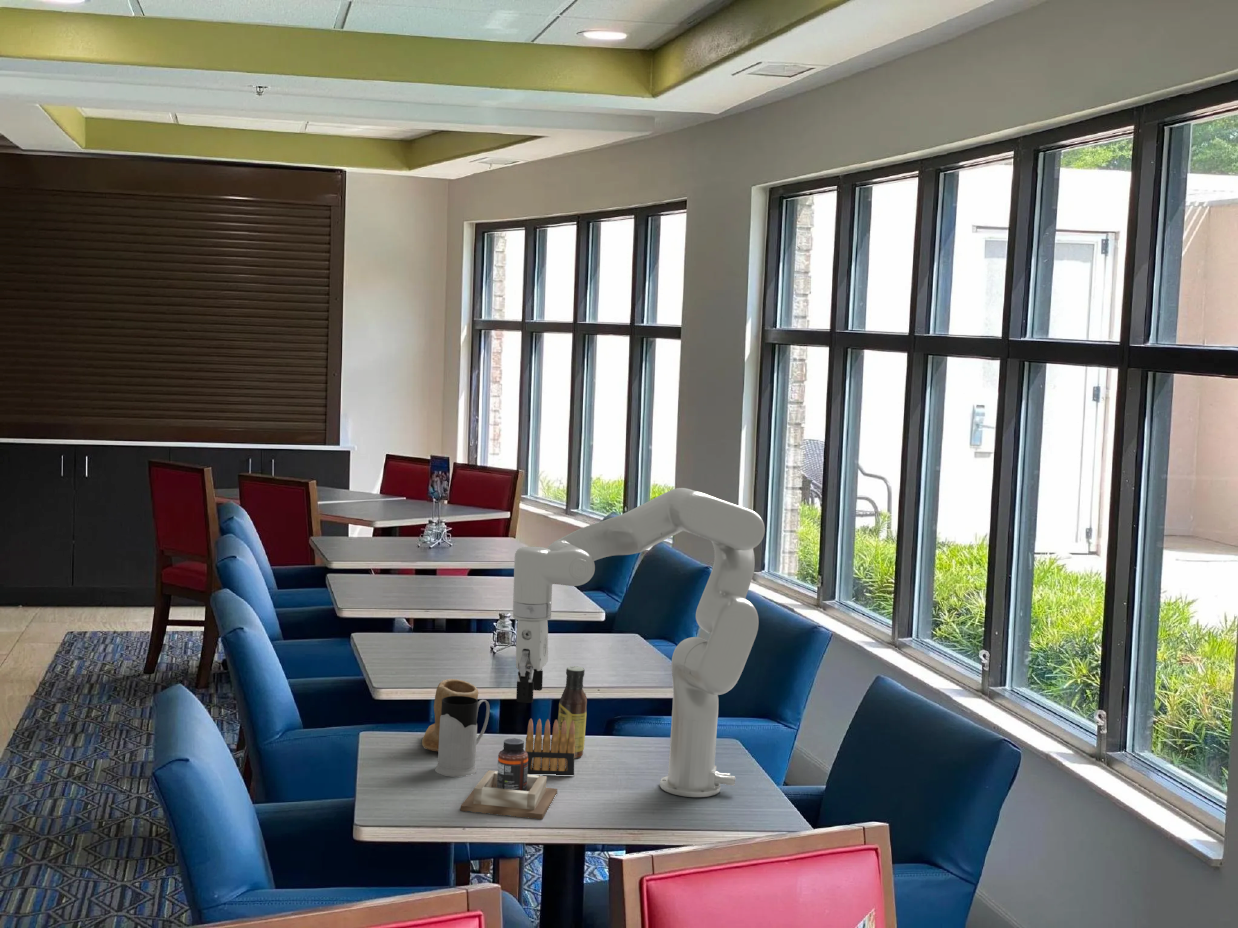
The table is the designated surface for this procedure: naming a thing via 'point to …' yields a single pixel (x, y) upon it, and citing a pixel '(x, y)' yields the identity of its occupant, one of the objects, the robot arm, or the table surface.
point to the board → (510, 797)
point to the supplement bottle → (512, 766)
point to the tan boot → (443, 690)
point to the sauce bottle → (574, 707)
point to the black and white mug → (459, 735)
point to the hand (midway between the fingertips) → (529, 695)
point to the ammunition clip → (556, 758)
